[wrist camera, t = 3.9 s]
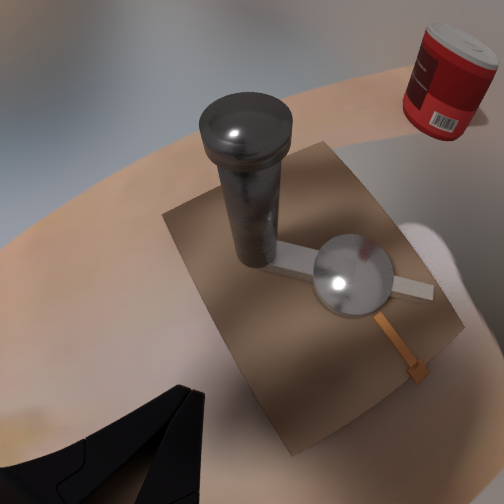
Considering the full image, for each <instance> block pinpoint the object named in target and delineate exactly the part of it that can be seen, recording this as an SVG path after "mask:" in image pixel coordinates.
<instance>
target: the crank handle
mask: <svg viewBox="0 0 504 504" xmlns="http://www.w3.org/2000/svg"><path fill="white" fill-rule="evenodd" d="M292 123H293V118H292V114H291V111H290V110H289V108H288V107H287V106H286V105H285V104H284V103H283V102H282V101H280V100H279V99H277V98H275V97H273V96H270V95H266V94H263V93H255V92H241V93H235V94H231V95H227V96H225V97H222V98H220V99H218V100H216V101H214V102H213V103H212V104H210V105H209V106H208V107H207V108H206V109H205V110H204V112H203V113H202V115H201V117H200V120H199V129H200V133H201V137H202V141H203V145H204V149H205V153H206V155H207V156H208V158H209V159H210V160H211V161H212V162H213V163H214V164H216V165H217V168H218V173H219V178H220V182H221V187H222V191H223V196H224V201H225V205H226V210H227V214H228V219H229V223H230V228H231V232H232V237H233V241H234V246H235V250H236V254H237V257H238V259H239V261H240V262H241V263H242V264H244V265H245V266H247V267H250V268H256V269H260V270H264V271H268V272H272V273H276V274H280V275H284V276H288V277H292V278H296V279H300V280H304V281H308V282H311V285H312V289H313V292H314V295H315V296H316V298H317V300H318V301H319V303H320V304H321V305H322V306H323V307H324V308H325V309H326V310H328V311H329V312H331V313H332V314H334V315H336V316H339V317H342V318H348V319H354V318H361V317H364V316H366V315H368V314H370V313H372V312H373V311H375V310H376V309H377V308H379V307H380V306H381V305H382V304H383V303H384V302H385V301H386V300H387V298H388V297H389V296H391V297H395V298H399V299H403V300H408V301H412V302H416V303H420V304H425V305H426V304H428V303H429V302H431V301H433V291H434V285H430V284H426V283H422V282H418V281H414V280H410V279H406V278H402V277H398V276H395V275H394V273H393V267H392V264H391V261H390V259H389V257H388V255H387V254H386V252H385V251H384V250H383V249H382V248H381V247H380V246H379V245H378V244H377V243H376V242H374V241H373V240H371V239H369V238H367V237H364V236H361V235H357V234H344V235H339V236H336V237H334V238H332V239H330V240H329V241H327V242H326V243H325V244H324V245H323V246H322V247H321V249H320V250H315V249H311V248H307V247H303V246H299V245H294V244H290V243H286V242H282V241H278V240H277V234H278V217H279V199H280V179H281V160H282V159H283V158H284V157H285V156H286V155H287V153H288V151H289V149H290V146H291V137H292Z"/></svg>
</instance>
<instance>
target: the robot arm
mask: <svg viewBox="0 0 504 504" xmlns="http://www.w3.org/2000/svg"><path fill="white" fill-rule="evenodd" d="M204 403H205V394H204V393H203V392H200V391H197V390H191V389H190V388H188V387H186V386H183V385H176V386H174V387H173V388H171V389H169V390H168V391H166V392H164V393H163V394H161V395H159V396H158V397H156V398H155V399H153V400H151V401H150V402H148V403H146V404H144V405H143V406H141V407H139V408H138V409H136V410H134V411H133V412H131V413H129V414H127V415H126V416H124V417H122V418H120V419H119V420H117V421H115V422H113V423H111V424H110V425H108V426H106V427H104V428H102V429H101V430H99V431H97V432H95V433H93V434H91V435H89V436H88V437H86V438H85V439H82V440H80V441H78V442H76V443H74V444H72V445H70V446H68V447H66V448H63V449H61V450H59V451H56V452H54V453H51V454H48V455H45V456H43V457H39V458H36V459H33V460H30V461H27V462H23V463H20V464H17V465H13V466H9V467H0V504H199V496H200V493H199V491H200V470H201V450H202V433H203V417H204Z"/></svg>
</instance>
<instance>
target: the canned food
mask: <svg viewBox="0 0 504 504" xmlns="http://www.w3.org/2000/svg"><path fill="white" fill-rule="evenodd" d="M498 66H499V60H498V58H497V57H496V56H495V55H494V53H493V52H492V51H491V50H490V49H489V48H487V47H486V46H485V45H484V44H483V43H481V42H480V41H479V40H477V39H475V38H474V37H472V36H471V35H469V34H467V33H465V32H464V31H462V30H460V29H457V28H455V27H453V26H450V25H447V24H444V23H440V22H429V23H428V26H427V28H426V30H425V34H424V37H423V40H422V43H421V46H420V50H419V53H418V56H417V59H416V62H415V66H414V69H413V72H412V75H411V78H410V81H409V84H408V87H407V89H406V92H405V95H404V98H403V111H404V113H405V115H406V117H407V118H408V120H409V121H410V122H411V123H412V124H413V125H414V126H415V127H416V128H418V129H419V130H420V131H422V132H423V133H425V134H427V135H429V136H430V137H433V138H435V139H439V140H442V141H454V140H456V139H457V138H459V137H460V136H461V135H462V134H463V133H464V131H465V130H466V128H467V126H468V124H469V123H470V121H471V119H472V117H473V116H474V114H475V112H476V110H477V109H478V107H479V105H480V103H481V101H482V99H483V97H484V96H485V94H486V92H487V90H488V88H489V86H490V84H491V82H492V80H493V78H494V75H495V73H496V71H497V69H498Z"/></svg>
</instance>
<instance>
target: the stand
mask: <svg viewBox="0 0 504 504" xmlns="http://www.w3.org/2000/svg"><path fill="white" fill-rule="evenodd" d="M162 216H163V219H164V221H165V223H166V225H167V227H168V230H169V232H170V234H171V236H172V238H173V240H174V242H175V245H176V247H177V249H178V251H179V253H180V255H181V257H182V259H183V261H184V264H185V266H186V268H187V270H188V272H189V274H190V276H191V278H192V280H193V282H194V284H195V286H196V288H197V290H198V292H199V294H200V296H201V298H202V300H203V302H204V304H205V306H206V308H207V310H208V312H209V313H210V315H211V317H212V319H213V321H214V323H215V325H216V327H217V329H218V331H219V332H220V334H221V336H222V338H223V340H224V342H225V344H226V345H227V347H228V349H229V351H230V353H231V355H232V356H233V358H234V360H235V362H236V364H237V365H238V367H239V369H240V371H241V373H242V374H243V376H244V378H245V380H246V381H247V383H248V385H249V387H250V388H251V390H252V392H253V393H254V395H255V397H256V399H257V400H258V402H259V404H260V405H261V407H262V409H263V410H264V412H265V414H266V415H267V417H268V419H269V420H270V422H271V424H272V425H273V427H274V428H275V430H276V432H277V433H278V435H279V437H280V438H281V440H282V441H283V443H284V445H285V446H286V448H287V449H288V451H289V452H290V454H291V455H292V456H294V455H296V454H298V453H300V452H301V451H303V450H305V449H307V448H309V447H310V446H312V445H314V444H316V443H317V442H319V441H321V440H322V439H324V438H326V437H327V436H329V435H331V434H332V433H334V432H336V431H337V430H339V429H340V428H342V427H343V426H345V425H347V424H348V423H350V422H351V421H353V420H354V419H356V418H357V417H359V416H360V415H362V414H363V413H364V412H366V411H367V410H369V409H370V408H372V407H373V406H374V405H376V404H377V403H378V402H380V401H381V400H383V399H384V398H385V397H387V396H388V395H389V394H390V393H392V392H393V391H394V390H396V389H397V388H398V387H399V386H401V385H402V384H403V383H404V382H406V381H407V380H408V379H409V378H412V379H413V381H414V382H415V384H416V385H418V384H419V383H420V382H421V381H422V380H423V379H424V378H425V377H426V376H427V374H428V373H429V372H430V371H429V369H428V368H427V366H426V364H427V363H428V362H429V361H430V360H431V359H433V358H434V357H435V356H436V355H437V354H438V353H439V352H440V351H441V350H442V349H443V348H444V347H445V346H447V345H448V344H449V343H450V342H451V341H452V340H453V339H454V338H455V337H456V336H457V335H458V334H459V333H460V332H461V331H462V330H463V329H464V328H465V327H464V325H463V324H462V322H461V320H460V318H459V317H458V315H457V313H456V312H455V310H454V308H453V307H452V305H451V304H450V302H449V300H448V299H447V297H446V296H445V294H444V292H443V291H442V289H441V288H440V286H439V285H438V283H437V282H436V280H435V279H434V277H433V276H432V274H431V273H430V271H429V270H428V268H427V267H426V265H425V264H424V263H423V261H422V260H421V258H420V257H419V255H418V254H417V253H416V251H415V250H414V249H413V247H412V246H411V244H410V243H409V242H408V240H407V239H406V238H405V236H404V235H403V234H402V232H401V231H400V230H399V228H398V227H397V226H396V224H395V223H394V222H393V221H392V219H391V218H390V217H389V216H388V214H387V213H386V212H385V211H384V209H383V208H382V207H381V206H380V204H379V203H378V202H377V201H376V199H375V198H374V197H373V196H372V195H371V193H370V192H369V191H368V190H367V189H366V188H365V186H364V185H363V184H362V183H361V182H360V181H359V179H358V178H357V177H356V176H355V175H354V174H353V173H352V171H351V170H350V169H349V168H348V167H347V166H346V165H345V164H344V163H343V161H342V160H341V159H340V158H339V157H338V156H337V155H336V154H335V153H334V152H333V151H332V150H331V148H330V147H329V146H328V145H327V144H326V143H325V142H324V141H322V142H319V143H317V144H314V145H312V146H309V147H307V148H305V149H302V150H300V151H297V152H295V153H292V154H290V155H288V156H285V157H284V158H283V159H282V160H281V179H280V199H279V217H278V234H277V240H278V241H282V242H286V243H290V244H294V245H299V246H303V247H307V248H311V249H315V250H320V249H321V247H322V246H323V245H324V244H325V243H326V242H327V241H329V240H330V239H332V238H334V237H336V236H339V235H344V234H357V235H361V236H364V237H367V238H369V239H371V240H373V241H374V242H376V243H377V244H378V245H379V246H380V247H381V248H382V249H383V250H384V251H385V252H386V254H387V255H388V257H389V259H390V261H391V264H392V267H393V273H394V275H395V276H398V277H402V278H406V279H410V280H414V281H418V282H422V283H426V284H430V285H434V291H433V301H431V302H429V303H428V304H426V305H425V304H420V303H416V302H412V301H408V300H403V299H399V298H395V297H391V296H389V297H388V298H387V300H386V301H385V302H384V303H383V304H382V305H381V306H380V307H379V308H377V309H376V310H375V311H373V312H372V313H370V314H368V315H366V316H364V317H361V318H354V319H348V318H342V317H339V316H336V315H334V314H332V313H331V312H329V311H328V310H326V309H325V308H324V307H323V306H322V305H321V304H320V303H319V301H318V300H317V298H316V296H315V295H314V292H313V289H312V285H311V282H308V281H304V280H300V279H296V278H292V277H288V276H284V275H280V274H276V273H272V272H268V271H264V270H260V269H256V268H250V267H247V266H245V265H244V264H242V263H241V262H240V261H239V259H238V257H237V254H236V250H235V246H234V241H233V237H232V232H231V228H230V223H229V219H228V214H227V210H226V205H225V201H224V196H223V191H222V187H221V186H218V187H216V188H214V189H212V190H210V191H208V192H206V193H204V194H202V195H200V196H198V197H196V198H194V199H192V200H190V201H188V202H186V203H184V204H182V205H180V206H178V207H176V208H174V209H172V210H170V211H168V212H166V213H164V214H162Z"/></svg>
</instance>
